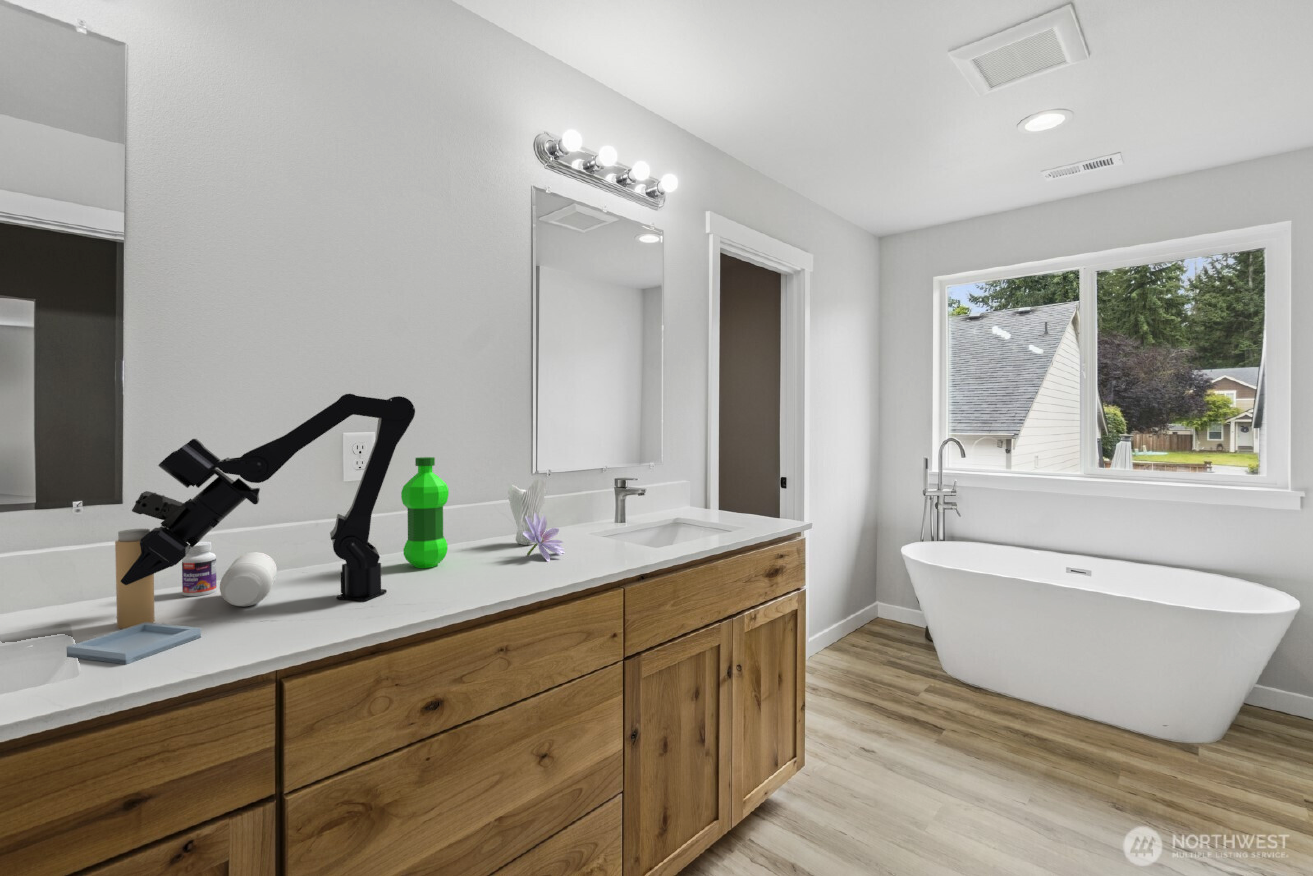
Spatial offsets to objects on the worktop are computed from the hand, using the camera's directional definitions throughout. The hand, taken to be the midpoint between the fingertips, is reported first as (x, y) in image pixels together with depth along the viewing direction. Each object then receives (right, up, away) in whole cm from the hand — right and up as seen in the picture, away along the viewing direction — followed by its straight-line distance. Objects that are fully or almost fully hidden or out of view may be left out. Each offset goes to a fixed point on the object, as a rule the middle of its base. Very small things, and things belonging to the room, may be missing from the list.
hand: (130, 576), depth 103 cm
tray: (+9, -8, -10) cm, 16 cm away
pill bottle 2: (+8, -3, +20) cm, 22 cm away
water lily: (+59, -7, +51) cm, 78 cm away
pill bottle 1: (-2, -7, +19) cm, 20 cm away
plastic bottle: (+33, -7, +42) cm, 54 cm away
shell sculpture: (+52, -6, +66) cm, 84 cm away
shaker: (0, -8, +1) cm, 8 cm away
